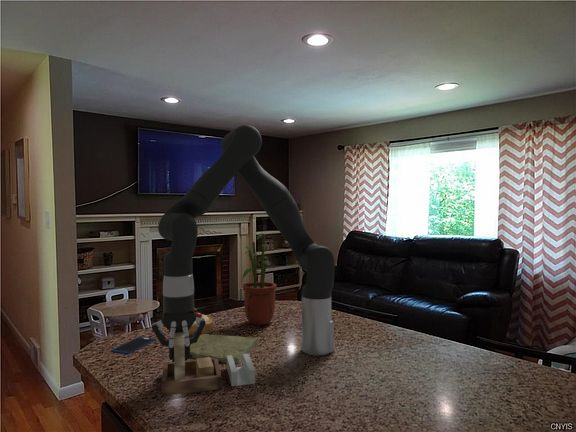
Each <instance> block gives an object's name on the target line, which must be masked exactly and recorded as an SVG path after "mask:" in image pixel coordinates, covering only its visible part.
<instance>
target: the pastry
mask: <svg viewBox="0 0 576 432" xmlns="http://www.w3.org/2000/svg"><path fill="white" fill-rule="evenodd" d="M195 311H196V312H195ZM194 312H195V314H196V317H198V318H200V319H202V318H204V319H205V322H206V324H205V326H204V328H203V330H202V332H201V334H200V335H202V334H209V335H210V333H211V331H212V330H213V326H214V320H213V318H212V317H211V316H209V315H205V314H202V313H201V312H198V310H197V308H196V307H194ZM196 328H197V326H196V321H195V322H194V323H193V325H192V326H191V328H190V329H189V330H188V331H189V338H191V337H192V336H193V334H194V332H195V330H196Z"/></svg>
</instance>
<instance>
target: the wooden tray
mask: <svg viewBox="0 0 576 432" xmlns="http://www.w3.org/2000/svg"><path fill="white" fill-rule="evenodd" d="M211 361H212V363H213V366H214V376H207V377H198V378H197V376H196V359H187V361H185V379H181V380H175V364H174V362H172V361H169V362H163V369H162V374H161V375H162V376H161V377H162V378H161V397H166V396H175V395H182V394H183V395H184V394H189V393H190V394H191V393H200V392H207V391H209V392H210V391H216V390H222V389H223V385H222V381H223V380H222V373H221V369H220V368H221V367H220V364H219V363H220V362H218V359H217V358H211Z"/></svg>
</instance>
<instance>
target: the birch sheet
mask: <svg viewBox="0 0 576 432" xmlns="http://www.w3.org/2000/svg"><path fill="white" fill-rule="evenodd" d="M174 364H175V380H181V379H185V341H184V333H183V332H177V333H175V334H174Z"/></svg>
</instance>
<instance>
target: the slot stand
mask: <svg viewBox="0 0 576 432" xmlns="http://www.w3.org/2000/svg"><path fill="white" fill-rule="evenodd" d="M226 371H227V374H228V379H229V382H230V385H231V387H235V386H237V387H238V386H246V385H255V384H256V367H255V365H254V363H253V361H252V359H251V357H250V355H249V353H248V354H243V360H242V366H236V363H235V362H234V359H233V356H232V355H229V356H227V363H226Z"/></svg>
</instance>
